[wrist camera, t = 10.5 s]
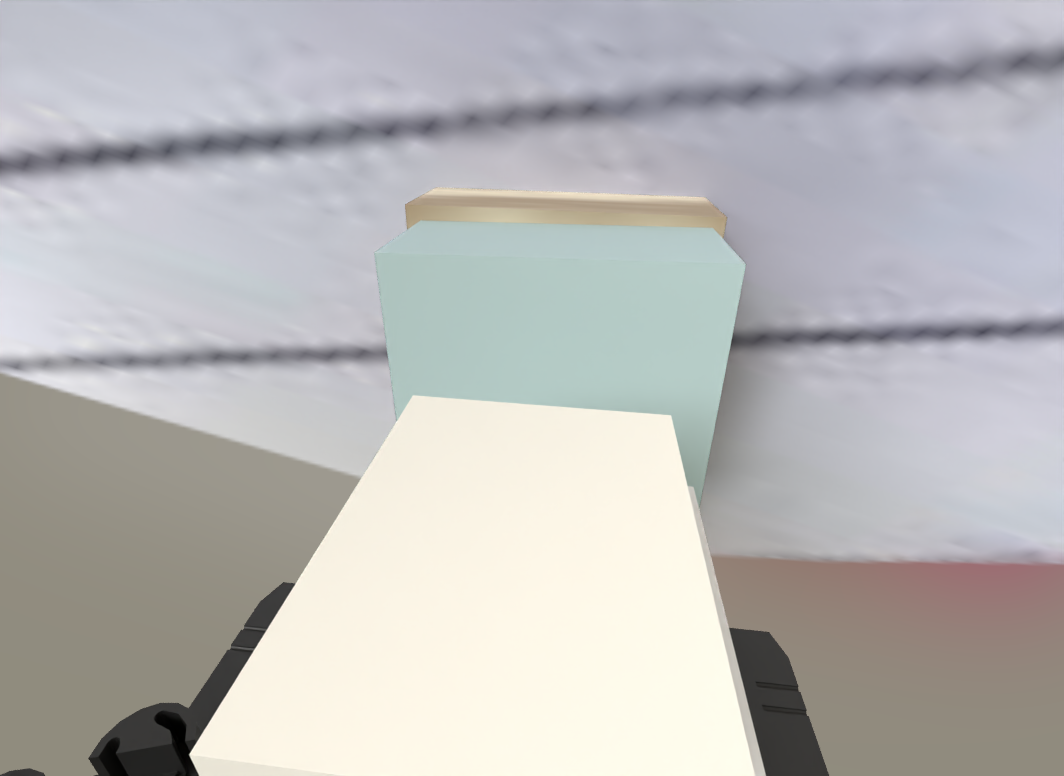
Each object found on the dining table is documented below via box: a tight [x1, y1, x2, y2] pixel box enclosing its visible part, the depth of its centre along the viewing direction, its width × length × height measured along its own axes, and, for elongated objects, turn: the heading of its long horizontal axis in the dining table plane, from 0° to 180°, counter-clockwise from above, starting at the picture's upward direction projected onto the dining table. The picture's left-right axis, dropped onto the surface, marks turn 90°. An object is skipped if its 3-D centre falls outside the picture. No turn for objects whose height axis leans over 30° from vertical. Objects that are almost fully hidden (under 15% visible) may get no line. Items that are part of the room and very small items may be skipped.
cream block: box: [189, 395, 755, 776], centre depth 10 cm, size 6×6×8 cm
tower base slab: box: [405, 187, 727, 238], centre depth 25 cm, size 12×12×5 cm
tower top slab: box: [374, 220, 746, 507], centre depth 21 cm, size 11×11×5 cm
